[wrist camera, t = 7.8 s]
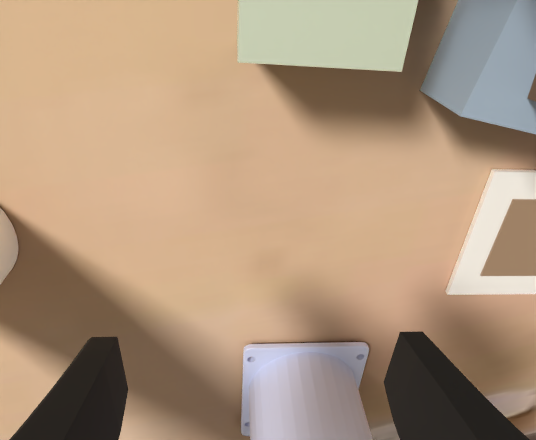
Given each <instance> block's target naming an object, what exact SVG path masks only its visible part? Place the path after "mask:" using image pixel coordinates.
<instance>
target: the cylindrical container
mask: <svg viewBox="0 0 536 440" xmlns="http://www.w3.org/2000/svg"><path fill="white" fill-rule="evenodd" d="M18 250H19V248H18V239H17V235H16V233H15V230H14V227H13V225H12V223H11V222H10V220H9V219H8V217H7V215H6V214H5V212H4V211H3V210H2V209H1V208H0V284H1V283H2V282H3V280H4V279H5V278H6V276H7V275H8V274H9V272H10V271H11V270H12V268H13V266H14V264H15V262H16V260H17V256H18Z"/></svg>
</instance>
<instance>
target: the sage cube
mask: <svg viewBox="0 0 536 440" xmlns="http://www.w3.org/2000/svg"><path fill="white" fill-rule="evenodd" d="M417 4H418V0H238V21H237V53H238V62H240V63H257V64H275V65H292V66H309V67H327V68H344V69H361V70H379V71H396V72H402V68H403V64H404V60H405V56H406V51H407V47H408V43H409V38H410V34H411V30H412V26H413V21H414V17H415V13H416V8H417Z"/></svg>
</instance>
